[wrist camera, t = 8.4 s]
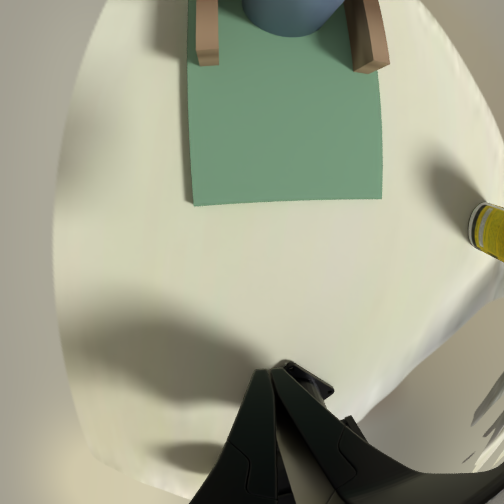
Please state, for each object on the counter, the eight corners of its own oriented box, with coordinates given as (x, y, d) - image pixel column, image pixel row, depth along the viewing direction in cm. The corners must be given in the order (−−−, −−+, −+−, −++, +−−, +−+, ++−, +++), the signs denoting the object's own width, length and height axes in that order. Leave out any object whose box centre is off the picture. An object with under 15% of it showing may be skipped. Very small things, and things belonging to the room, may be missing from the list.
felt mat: (377, 197, 19) (381, 199, 19) (194, 205, 18) (193, 206, 18) (356, -21, 13) (359, -24, 13) (191, -33, 12) (190, -37, 12)
